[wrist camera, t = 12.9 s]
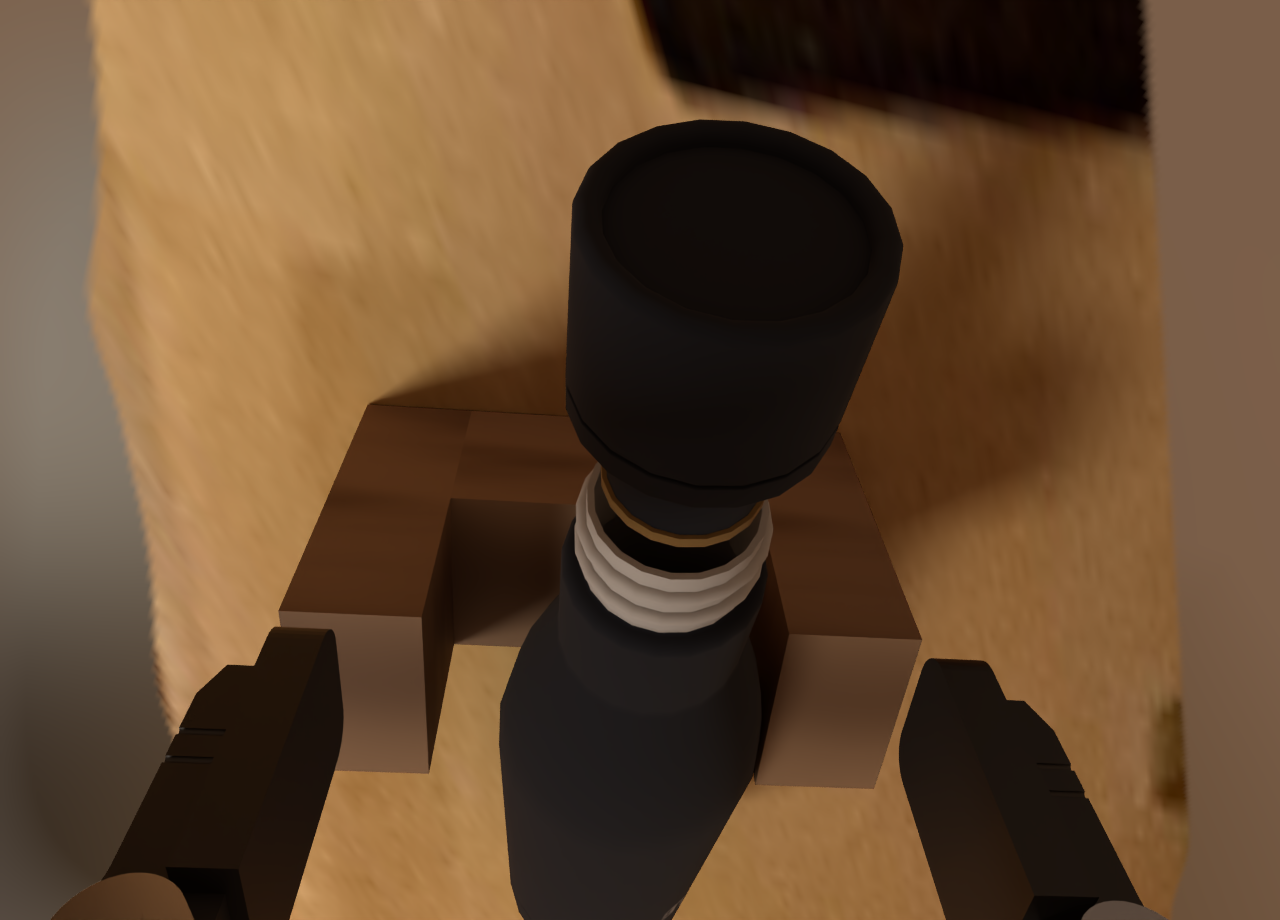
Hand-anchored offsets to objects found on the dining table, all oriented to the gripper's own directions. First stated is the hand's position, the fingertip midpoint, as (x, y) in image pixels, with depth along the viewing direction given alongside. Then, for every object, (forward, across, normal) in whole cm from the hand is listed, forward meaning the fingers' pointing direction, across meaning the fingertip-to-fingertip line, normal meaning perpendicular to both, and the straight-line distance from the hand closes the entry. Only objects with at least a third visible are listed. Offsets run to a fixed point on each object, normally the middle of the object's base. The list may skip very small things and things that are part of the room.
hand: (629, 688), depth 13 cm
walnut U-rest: (+15, 0, +7) cm, 17 cm away
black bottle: (+13, -1, +22) cm, 25 cm away
